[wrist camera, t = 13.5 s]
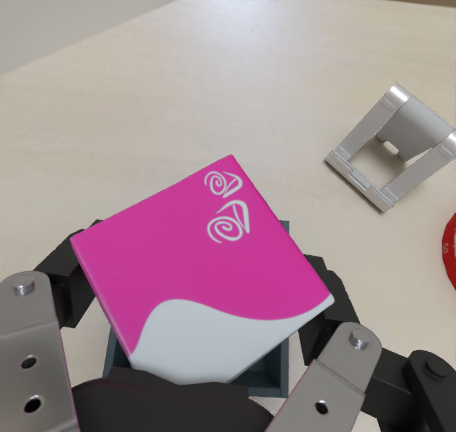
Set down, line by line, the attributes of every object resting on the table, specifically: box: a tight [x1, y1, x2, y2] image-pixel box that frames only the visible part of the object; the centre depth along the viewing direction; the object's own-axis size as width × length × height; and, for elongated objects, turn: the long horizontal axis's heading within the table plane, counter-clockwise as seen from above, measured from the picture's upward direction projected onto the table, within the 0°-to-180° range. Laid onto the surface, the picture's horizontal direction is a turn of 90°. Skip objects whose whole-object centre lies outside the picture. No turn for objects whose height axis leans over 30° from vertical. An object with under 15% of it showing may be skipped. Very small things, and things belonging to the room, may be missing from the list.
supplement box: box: [70, 155, 335, 385], centre depth 14 cm, size 6×6×11 cm
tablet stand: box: [325, 82, 456, 213], centre depth 31 cm, size 9×8×8 cm
